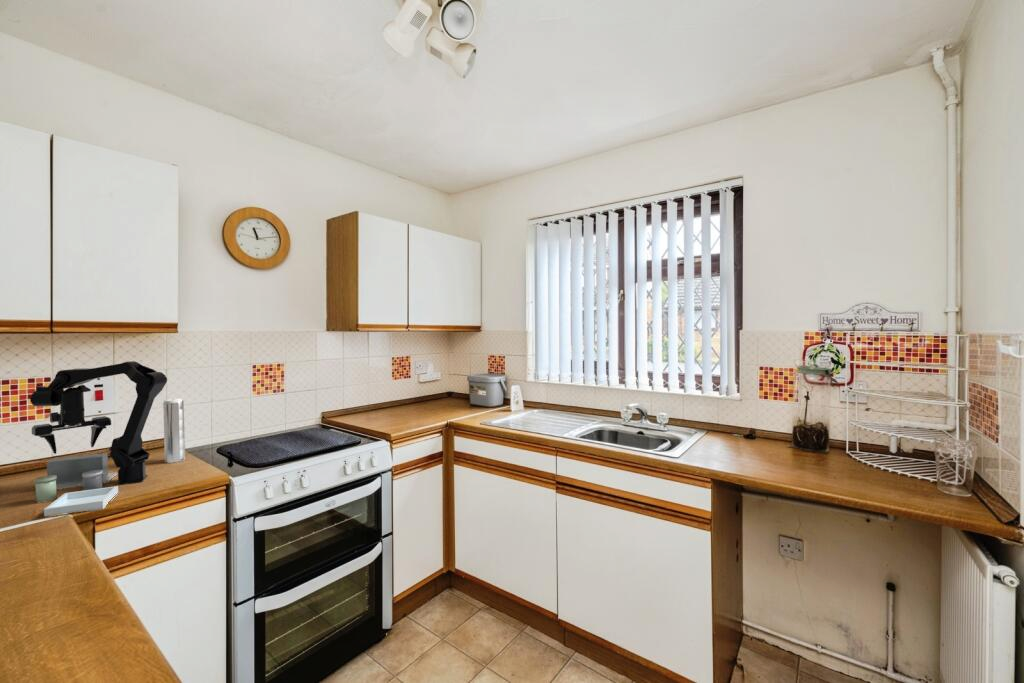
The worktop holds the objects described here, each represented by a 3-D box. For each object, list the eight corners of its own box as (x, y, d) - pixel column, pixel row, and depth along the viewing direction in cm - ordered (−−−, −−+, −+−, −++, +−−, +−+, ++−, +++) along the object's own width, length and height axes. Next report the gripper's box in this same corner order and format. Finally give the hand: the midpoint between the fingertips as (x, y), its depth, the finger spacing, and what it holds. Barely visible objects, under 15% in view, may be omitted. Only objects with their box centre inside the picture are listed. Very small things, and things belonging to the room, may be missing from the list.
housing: (117, 474, 159) (116, 450, 159) (108, 482, 151) (107, 457, 151) (49, 483, 150) (48, 457, 150) (36, 491, 142) (35, 464, 142)
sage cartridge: (60, 495, 139) (59, 474, 139) (53, 501, 135) (52, 478, 135) (39, 498, 137) (38, 476, 137) (31, 504, 133) (30, 481, 133)
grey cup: (105, 489, 144) (104, 469, 144) (100, 494, 140) (99, 473, 140) (86, 492, 142) (85, 471, 142) (80, 497, 138) (79, 475, 138)
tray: (118, 493, 141) (117, 486, 141) (102, 509, 129) (102, 500, 129) (65, 501, 135) (65, 493, 135) (44, 518, 123) (43, 509, 123)
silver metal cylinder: (167, 464, 172) (166, 401, 171) (162, 460, 175) (160, 399, 175) (187, 460, 177) (185, 399, 176) (182, 457, 181) (180, 397, 180)
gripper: (101, 399, 162) (102, 440, 162) (27, 407, 146) (29, 453, 147) (110, 402, 155) (112, 445, 156) (34, 410, 140) (36, 458, 140)
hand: (74, 450), depth 150 cm, fingers open, 9 cm apart
